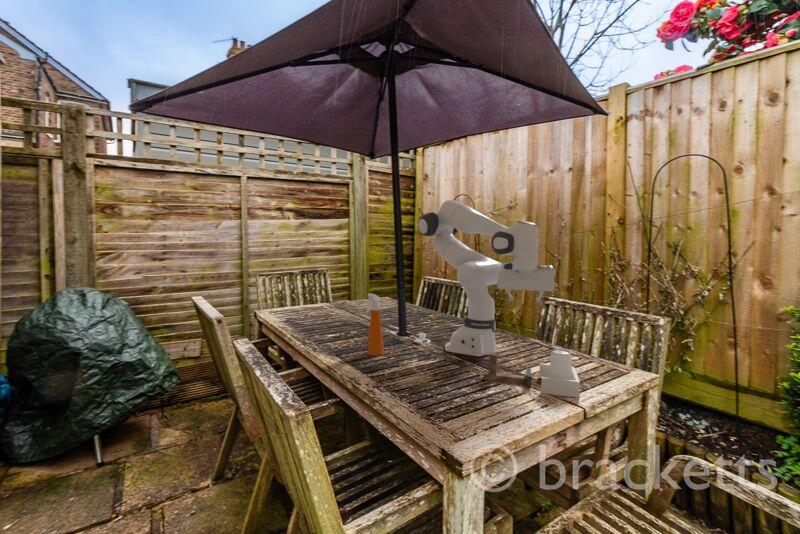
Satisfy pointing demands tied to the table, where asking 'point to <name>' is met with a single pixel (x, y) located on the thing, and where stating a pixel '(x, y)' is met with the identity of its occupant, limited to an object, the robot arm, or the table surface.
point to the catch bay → (559, 383)
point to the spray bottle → (375, 327)
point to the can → (560, 364)
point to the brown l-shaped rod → (501, 377)
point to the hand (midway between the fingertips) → (524, 301)
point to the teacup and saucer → (421, 338)
